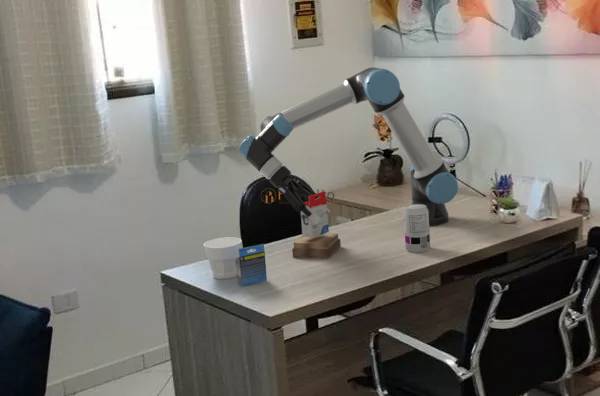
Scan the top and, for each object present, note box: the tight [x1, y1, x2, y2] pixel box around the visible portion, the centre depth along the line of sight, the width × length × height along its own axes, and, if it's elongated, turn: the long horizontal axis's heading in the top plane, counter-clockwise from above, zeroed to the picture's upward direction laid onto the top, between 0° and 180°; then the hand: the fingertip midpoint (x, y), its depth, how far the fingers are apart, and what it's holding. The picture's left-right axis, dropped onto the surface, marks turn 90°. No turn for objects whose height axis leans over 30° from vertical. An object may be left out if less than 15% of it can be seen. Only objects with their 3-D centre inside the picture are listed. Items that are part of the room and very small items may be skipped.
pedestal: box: [291, 233, 342, 259], centre depth 278 cm, size 13×13×5 cm
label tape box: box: [235, 243, 268, 288], centre depth 251 cm, size 9×4×12 cm, turn 118°
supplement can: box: [403, 203, 431, 254], centre depth 271 cm, size 8×8×15 cm
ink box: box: [300, 190, 330, 238], centre depth 276 cm, size 8×5×15 cm, turn 134°
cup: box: [203, 236, 243, 280], centre depth 261 cm, size 12×12×11 cm
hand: (323, 217), depth 275 cm, fingers closed on ink box, 9 cm apart
